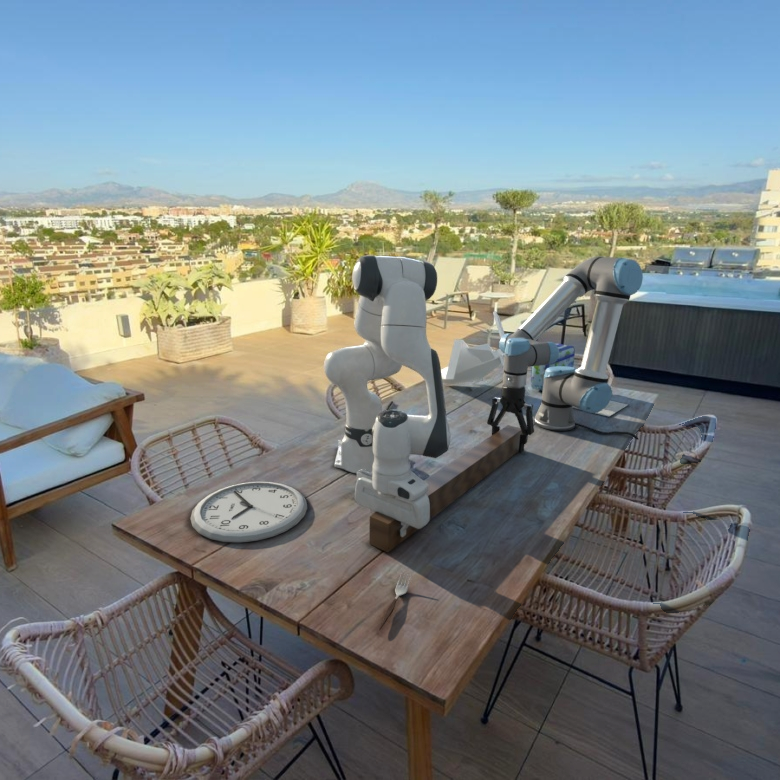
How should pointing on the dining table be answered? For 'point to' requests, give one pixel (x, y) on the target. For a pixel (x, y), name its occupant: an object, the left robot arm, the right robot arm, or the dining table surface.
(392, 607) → the fork
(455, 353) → the white plastic object
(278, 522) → the wall clock
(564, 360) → the lunch box
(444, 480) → the beam
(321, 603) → the dining table surface
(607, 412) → the invitation card
